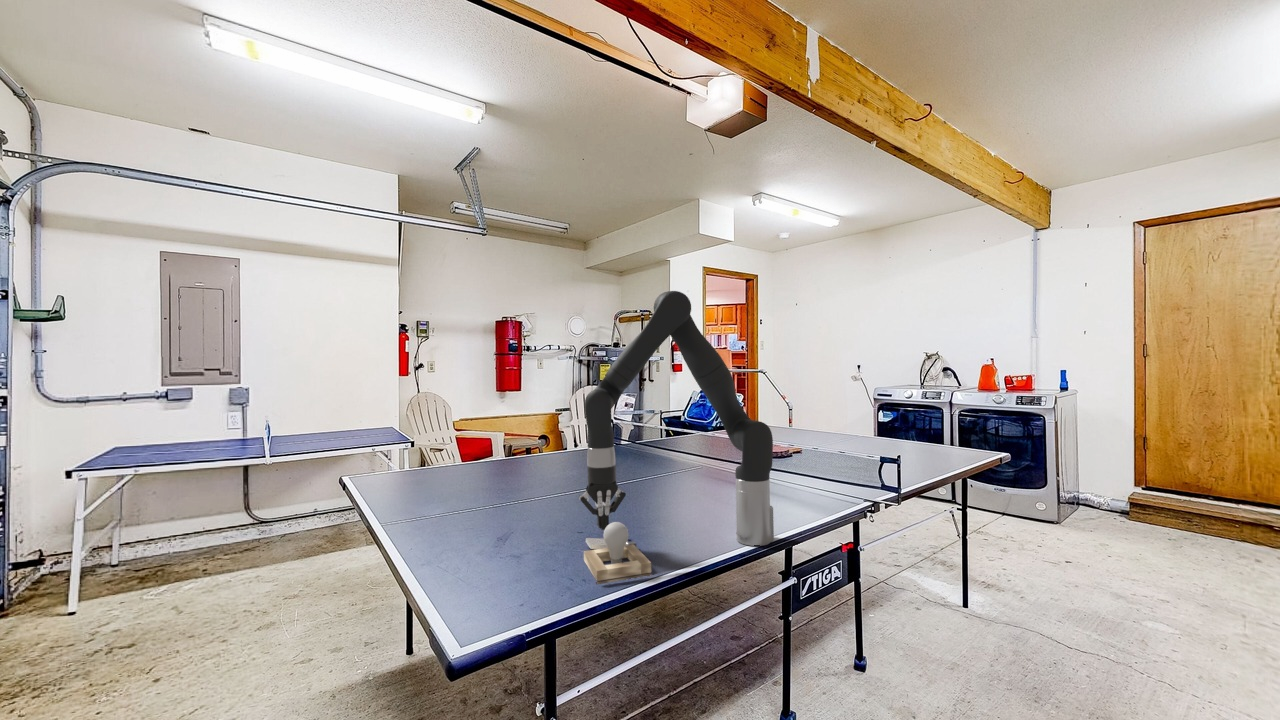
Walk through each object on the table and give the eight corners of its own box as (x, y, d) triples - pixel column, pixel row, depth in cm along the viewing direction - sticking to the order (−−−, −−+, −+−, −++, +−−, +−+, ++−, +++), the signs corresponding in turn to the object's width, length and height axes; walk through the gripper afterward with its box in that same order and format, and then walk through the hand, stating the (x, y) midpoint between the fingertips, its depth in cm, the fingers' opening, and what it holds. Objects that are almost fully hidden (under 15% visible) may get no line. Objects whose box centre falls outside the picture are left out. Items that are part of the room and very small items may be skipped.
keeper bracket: (626, 541, 138) (626, 532, 138) (636, 552, 130) (636, 543, 130) (619, 542, 138) (619, 533, 138) (629, 553, 129) (629, 544, 129)
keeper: (590, 549, 128) (591, 544, 128) (585, 542, 133) (586, 537, 133) (633, 550, 131) (633, 545, 131) (626, 543, 137) (627, 538, 137)
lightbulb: (626, 574, 116) (625, 527, 116) (600, 572, 117) (600, 526, 118) (631, 563, 122) (630, 519, 122) (607, 562, 123) (606, 518, 124)
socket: (633, 556, 127) (633, 544, 128) (651, 575, 115) (651, 562, 115) (583, 563, 123) (583, 551, 123) (596, 584, 111) (596, 570, 111)
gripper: (579, 468, 126) (581, 536, 126) (629, 463, 131) (631, 529, 131) (574, 463, 134) (575, 528, 133) (621, 459, 138) (623, 521, 138)
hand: (603, 528), depth 132 cm, fingers closed
